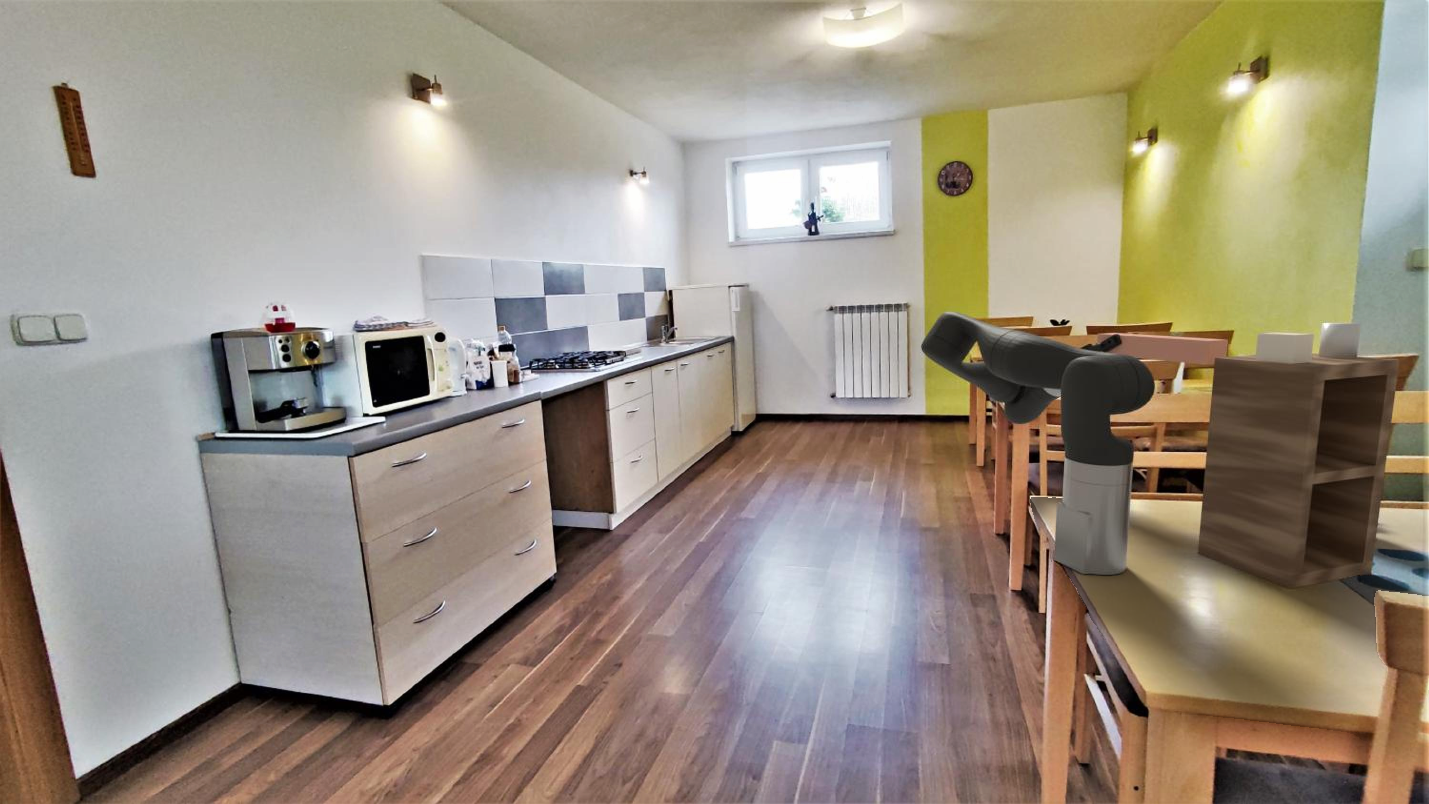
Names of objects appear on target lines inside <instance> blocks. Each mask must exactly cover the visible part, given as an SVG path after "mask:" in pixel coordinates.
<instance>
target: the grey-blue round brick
mask: <svg viewBox="0 0 1429 804" xmlns="http://www.w3.org/2000/svg"><path fill="white" fill-rule="evenodd" d="M1361 326H1362V323H1361V322H1322V323H1321V331H1320V339H1319V341H1320V342H1319V348H1318V349H1319V350H1318V354H1319V356H1318V357H1322V358H1340V359H1350V358H1357V357H1358V351H1359V342H1360V333H1361Z"/></svg>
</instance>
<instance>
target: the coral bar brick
mask: <svg viewBox="0 0 1429 804" xmlns="http://www.w3.org/2000/svg"><path fill="white" fill-rule="evenodd" d="M1114 334H1119V336H1120V338H1121V341H1122V344H1121V345H1119V346H1117V347H1116V348H1114V349H1112V350H1111V351H1109V352H1106V353H1114V354H1125V355H1129V356H1132V357H1135V358H1137V359H1143V360H1145V359H1146V360H1154V361H1155V360H1156V361H1162V362H1163V361H1164V362H1175V363H1183V364H1193V365H1205V366H1211V365H1213V366H1214V363H1215V358H1218V357H1228V356H1227V353H1228V342H1229V340H1228V339H1221V338H1207V337H1203V338H1202V337H1192V336H1191V337H1188V336H1173V335H1171V336H1170V335H1157V334H1156V335H1154V334H1140V333H1138V334H1133V333H1122V332H1106V333H1097V337H1096V338H1097V340H1096V343H1097V342H1103V341H1104V340H1106V339H1107V338H1109V337H1111V336H1112V335H1114Z"/></svg>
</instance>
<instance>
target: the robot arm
mask: <svg viewBox="0 0 1429 804" xmlns="http://www.w3.org/2000/svg"><path fill="white" fill-rule="evenodd" d="M1132 334H1139V333H1138V332H1133V333H1132ZM976 343H977V345H978V349H979V352H980V356H981V358H982V361H975V362H974V361H973V362H966V361H965V362H964V360H965V359H966V357H967V356H968V355H969V354H970V352H971V350H972V349H973V347H974V346H975V344H976ZM1121 344H1122V341H1121V338H1120V336H1119V334H1114V335H1112V336H1111V337H1109V338H1107V339H1106V340H1104V341H1103V342H1097V341H1096V342H1095V343H1094V345H1093V344H1092V343H1087V344H1085V345H1083V346H1082V347H1076V346H1073V345H1070V344H1067V343H1065V342H1061V341H1058V340H1054V339H1051V338H1047V337H1044V336H1043V337H1042V336H1040V335H1037V334H1034V333H1029V332H1025V331H1021V330H1017V329H1014V328H1007V327H1003V326H999V325H998V326H997V325H994V324H990V323H987V322H984V321H982V320H979V319H976V318H973V317H972V316H969V315H966V314H962V313H960V312H956V311H945V312H943V313H942V314H940V316H938V318H937V319H936V321H935V323H934V324H932V327H931V328H930V330H929V331H928V333H927V334H926V335H925V337H924V339H923V341H922V342H921V345H920V349H921V351H922V353H923V354H924V355H925V356H926V357H927V358H928V359H929V360H931V361H933V362H934V363H935V364H937V365H939V366H940V367H942V368H943V369H945V370H947V371H949V372H950V373H952V374H954V375H955V376H957V377H959V378H960V379H963V380H964V381H967V382H968V383H970V384H972V385H974V386H975V387H977V388H978V389H980V390H981V391H982V392H983V393H984V394H986V395H987V396H989V397H990V398H991V399H993V400H994V401H995V402H998V403H1001V404H1003V412H1004V413H1003V414H1004V416H1005V418H1006V420H1007V421H1009V422H1010V423H1013V424H1016V425H1024V424H1028V423H1031V422H1033V421H1034V420H1036V419H1037V418H1038V417H1040V416H1041V414H1042V413H1044V411H1046V409H1047V408H1048V407H1049V406H1050V404H1051V403H1052V402H1054V401H1056V400H1057V399H1060V434H1061V439H1062V441H1063V445H1064V467H1063V483H1062V484H1063V485H1062V502H1059V503H1057V505H1056V513H1055V514H1056V515H1055V536H1054V552H1053V553H1054V554H1053V558H1054V559H1053V560H1054V561H1055V562H1058V563H1060V564H1062V565H1063V566H1066V567H1068V568H1070V569H1072V570H1074V571H1075V572H1077V573H1079V574H1081V575H1086V574H1091V575H1092V574H1093V575H1102V576H1103V575H1105V576H1109V575H1111V576H1112V575H1118V574H1121V573H1124V572H1125V571H1126V569H1127V555H1128V543H1129V542H1128V541H1129V526H1130V513H1131V512H1130V510H1131V498H1132V497H1131V496H1132V481H1133V468H1134V458H1135V457H1134V456H1135V447H1134V443H1132V442H1131V441H1130V440H1128V439H1126V438H1123V437H1121V436H1116V435H1115V434H1113V432H1112V427H1111V416H1115V415H1125V414H1129V413H1132V412H1135V411H1138V410H1140V409H1141V408H1143V407H1145V406H1146V405H1147V404H1148V403H1149V402H1150V401H1151V399H1152V398H1153V396H1154V393H1155V390H1156V383H1155V378H1154V376H1153V374H1152V372H1151V370H1150V369H1149V368H1148V366H1147V365H1146V364H1145V363H1144V362H1142V361H1141V360H1140V359H1139V358H1135V357H1132V356H1129V355H1125V354H1114V353H1106V352H1109V351H1111V350H1112V349H1114V348H1116V347H1117V346H1119V345H1121Z"/></svg>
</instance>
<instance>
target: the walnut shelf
mask: <svg viewBox="0 0 1429 804" xmlns="http://www.w3.org/2000/svg"><path fill="white" fill-rule="evenodd" d="M1318 356H1319V353H1313V352H1312V357H1311V362H1307V363H1294V364H1290V363H1278V362H1267V361H1255V358H1256V354H1248V355H1247V354H1246V355H1236V356H1235V355H1233V356H1226V357H1218V358H1215V363H1214V364H1213V376H1212V377H1213V378H1212V388H1211V399H1210V407H1209V408H1210V411H1209V421H1208V430H1207V432H1208V434H1207V443H1206V456H1205V467H1204V477H1203V480H1204V481H1203V488H1202V489H1203V490H1202V498H1201V499H1202V502H1201V512H1200V513H1201V514H1200V525H1199V536H1198V537H1199V538H1198V546H1197V554H1200V555H1202V556H1205V557H1207V558H1209V559H1212V560H1215V561H1217V562H1220V563H1223V564H1225V565H1227V566H1230V567H1233V568H1236V569H1237V570H1238V569H1239V570H1241V571H1244V572H1246V573H1249V574H1252V575H1254V576H1256V577H1259V578H1262V579H1265V580H1267V581H1269V582H1272V583H1275V584H1276V585H1280V586H1282V587H1286V588H1288V589H1289V590H1290V589H1296V588H1300V587H1301V588H1302V587H1306V586H1312V585H1317V584H1322V583H1326V582H1327V583H1328V582H1331V581H1332V582H1334V581H1338V580H1343V578H1344V579H1348V578H1347V577H1349V578H1352V577H1351V576H1355V577H1358V576H1357V575H1360V576H1365V575H1369V574H1372V571H1373V562H1374V555H1375V550H1376V549H1375V547H1376V541H1377V534H1378V525H1379V520H1380V519H1379V518H1380V510H1381V502H1382V496H1383V495H1382V494H1383V490H1384V489H1383V486H1384V480H1385V472H1386V463H1387V457H1388V450H1389V443H1390V442H1389V441H1390V437H1391V436H1390V435H1391V434H1390V433H1391V427H1392V419H1393V411H1394V405H1395V397H1396V388H1397V383H1398V382H1397V381H1398V374H1399V367H1400V359H1397V358H1382V357H1381V358H1380V357H1368V356H1367V357H1366V356H1357V358H1350V359H1340V358H1322V357H1318Z"/></svg>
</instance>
